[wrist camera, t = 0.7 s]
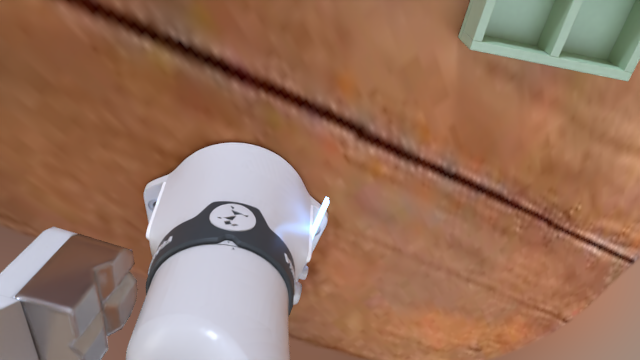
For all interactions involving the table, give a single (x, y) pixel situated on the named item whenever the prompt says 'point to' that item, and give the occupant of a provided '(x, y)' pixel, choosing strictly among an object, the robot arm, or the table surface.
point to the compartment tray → (558, 33)
